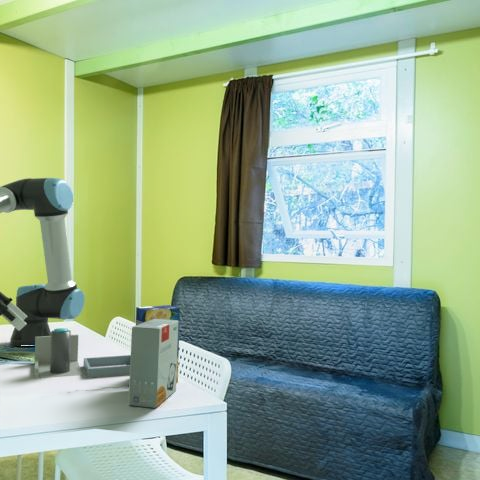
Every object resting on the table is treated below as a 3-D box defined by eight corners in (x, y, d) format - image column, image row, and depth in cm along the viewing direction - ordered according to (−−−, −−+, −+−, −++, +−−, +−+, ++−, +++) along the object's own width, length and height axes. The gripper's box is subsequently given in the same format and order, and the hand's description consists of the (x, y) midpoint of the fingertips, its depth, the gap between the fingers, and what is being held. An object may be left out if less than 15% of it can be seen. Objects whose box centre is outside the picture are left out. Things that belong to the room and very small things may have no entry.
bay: (34, 367, 153) (35, 336, 153) (77, 364, 158) (78, 334, 158) (34, 383, 137) (35, 348, 137) (82, 379, 142) (83, 345, 142)
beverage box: (133, 381, 141) (135, 307, 141) (167, 376, 148) (169, 305, 148) (144, 388, 136) (146, 310, 136) (178, 382, 142) (180, 307, 142)
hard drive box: (156, 409, 119) (158, 328, 119) (127, 406, 120) (129, 327, 120) (177, 390, 134) (178, 319, 134) (151, 388, 136) (153, 317, 136)
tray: (83, 370, 151) (83, 358, 151) (133, 366, 158) (133, 354, 158) (87, 382, 139) (88, 369, 139) (141, 378, 145) (142, 364, 145)
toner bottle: (49, 369, 147) (50, 328, 147) (69, 368, 149) (70, 327, 149) (50, 374, 141) (51, 331, 141) (70, 372, 144) (71, 330, 144)
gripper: (-39, 278, 145) (14, 325, 151) (-52, 285, 123) (11, 341, 128) (-19, 260, 148) (33, 308, 153) (-28, 265, 125) (33, 320, 130)
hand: (23, 323), depth 141 cm, fingers open, 13 cm apart
